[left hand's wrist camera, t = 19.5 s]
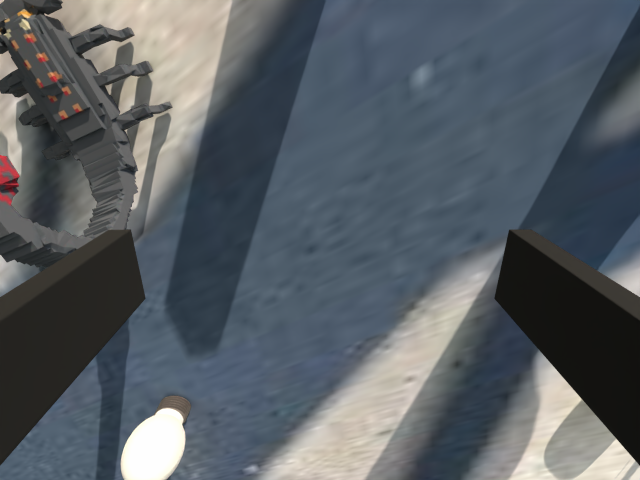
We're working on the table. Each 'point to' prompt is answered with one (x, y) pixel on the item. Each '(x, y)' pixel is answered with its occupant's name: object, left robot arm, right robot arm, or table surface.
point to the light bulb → (157, 442)
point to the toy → (67, 124)
